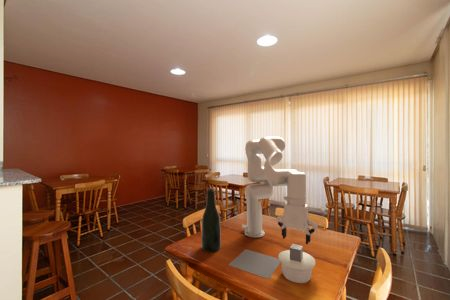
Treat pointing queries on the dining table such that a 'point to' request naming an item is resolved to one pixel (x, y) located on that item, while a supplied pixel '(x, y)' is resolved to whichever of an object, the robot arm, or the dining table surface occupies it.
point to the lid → (296, 258)
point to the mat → (256, 263)
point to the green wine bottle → (211, 224)
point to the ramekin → (296, 274)
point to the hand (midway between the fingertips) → (295, 240)
